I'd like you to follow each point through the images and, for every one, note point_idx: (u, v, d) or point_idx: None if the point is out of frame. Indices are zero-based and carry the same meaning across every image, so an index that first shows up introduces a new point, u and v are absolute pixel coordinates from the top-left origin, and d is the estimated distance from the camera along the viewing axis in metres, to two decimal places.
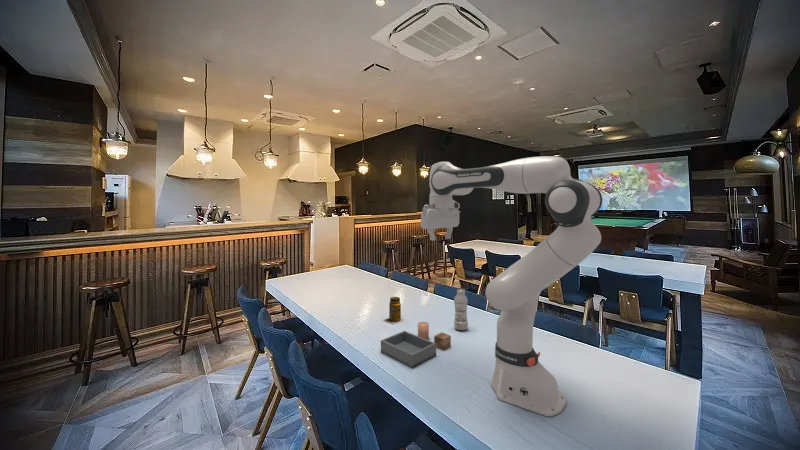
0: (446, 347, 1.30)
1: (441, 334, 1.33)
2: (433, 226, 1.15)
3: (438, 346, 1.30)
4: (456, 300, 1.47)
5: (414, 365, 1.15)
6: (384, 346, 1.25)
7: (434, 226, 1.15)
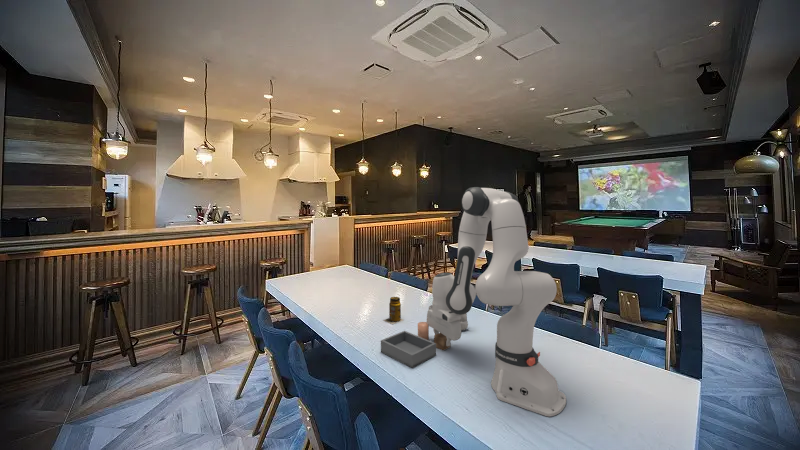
0: (446, 347, 1.30)
1: (441, 334, 1.33)
2: (430, 325, 1.36)
3: (438, 346, 1.30)
4: None
5: (414, 365, 1.15)
6: (384, 346, 1.25)
7: (431, 325, 1.36)
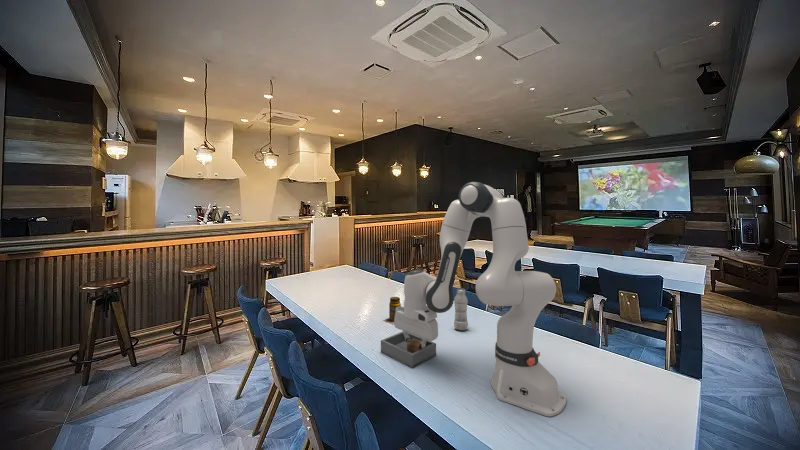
0: None
1: (414, 340, 1.24)
2: (399, 327, 1.26)
3: None
4: (456, 300, 1.47)
5: (414, 365, 1.15)
6: (384, 346, 1.25)
7: (400, 328, 1.25)
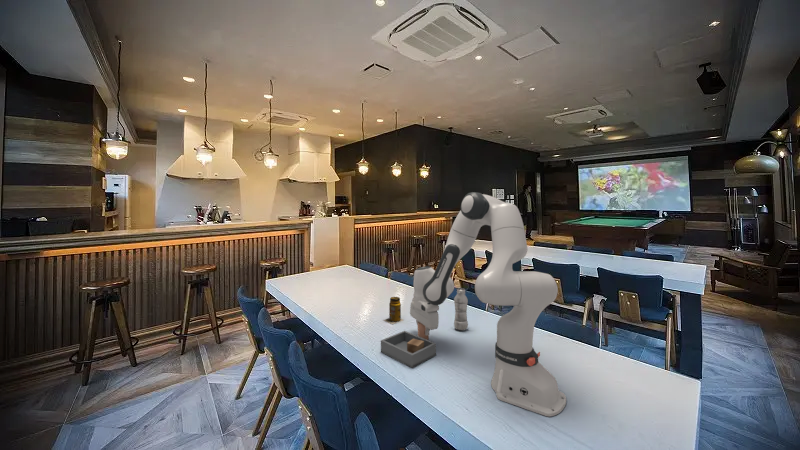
0: None
1: (414, 340, 1.24)
2: (413, 316, 1.44)
3: None
4: (456, 300, 1.47)
5: (414, 365, 1.15)
6: (384, 346, 1.25)
7: (413, 316, 1.44)
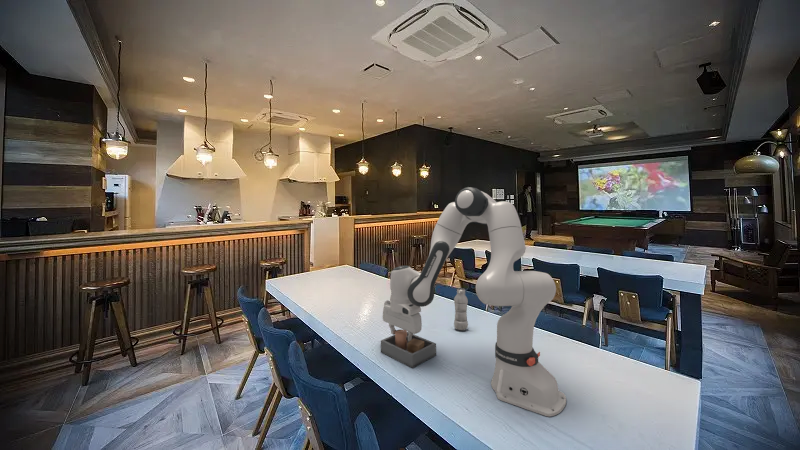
0: None
1: (414, 341, 1.24)
2: (387, 321, 1.31)
3: None
4: (456, 300, 1.47)
5: (414, 365, 1.15)
6: (384, 346, 1.25)
7: (388, 321, 1.31)
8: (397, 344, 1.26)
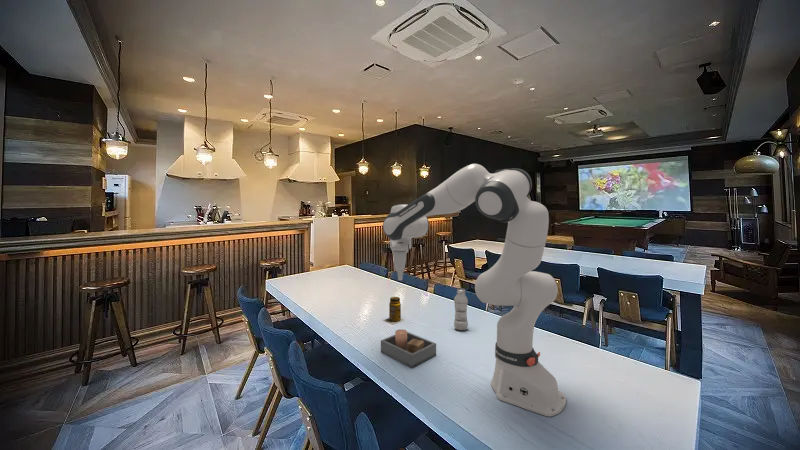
0: None
1: (414, 341, 1.24)
2: None
3: None
4: (456, 300, 1.47)
5: (414, 365, 1.15)
6: (384, 346, 1.25)
7: None
8: (397, 344, 1.26)
